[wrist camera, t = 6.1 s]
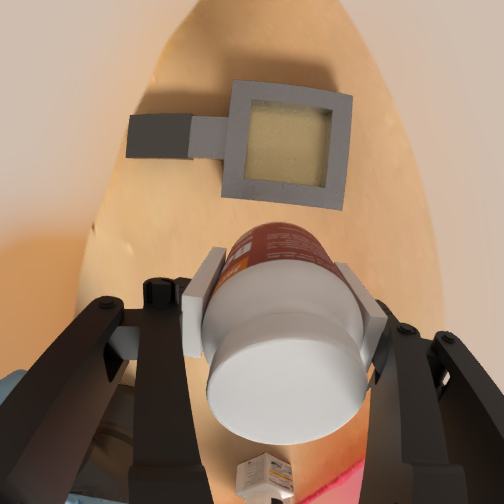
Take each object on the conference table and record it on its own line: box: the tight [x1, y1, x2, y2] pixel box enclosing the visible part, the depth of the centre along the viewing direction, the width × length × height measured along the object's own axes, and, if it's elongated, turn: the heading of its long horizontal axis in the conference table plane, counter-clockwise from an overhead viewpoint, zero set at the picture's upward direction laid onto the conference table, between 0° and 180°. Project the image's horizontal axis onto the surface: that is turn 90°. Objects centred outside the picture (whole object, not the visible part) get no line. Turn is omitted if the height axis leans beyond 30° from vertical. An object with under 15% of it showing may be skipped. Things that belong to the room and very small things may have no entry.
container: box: [235, 453, 294, 504], centre depth 39 cm, size 8×8×13 cm
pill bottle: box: [201, 222, 368, 445], centre depth 13 cm, size 6×6×11 cm
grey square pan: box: [126, 80, 353, 211], centre depth 28 cm, size 23×12×4 cm, turn 85°
